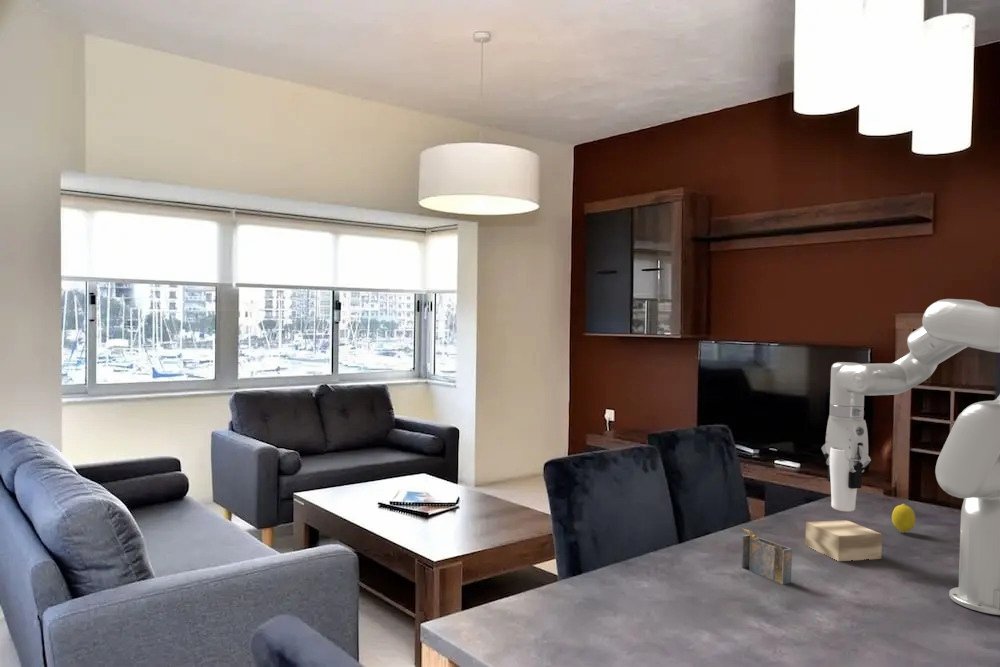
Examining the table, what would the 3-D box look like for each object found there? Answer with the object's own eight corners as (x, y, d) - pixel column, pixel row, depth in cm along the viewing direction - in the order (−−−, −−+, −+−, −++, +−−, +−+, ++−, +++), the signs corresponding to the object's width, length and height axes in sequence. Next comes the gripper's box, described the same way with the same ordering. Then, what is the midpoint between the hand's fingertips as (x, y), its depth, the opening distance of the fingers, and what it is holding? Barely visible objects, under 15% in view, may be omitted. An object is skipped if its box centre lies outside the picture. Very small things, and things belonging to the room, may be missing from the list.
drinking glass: (862, 513, 169) (864, 451, 169) (831, 511, 171) (833, 450, 170) (853, 506, 176) (855, 447, 176) (824, 504, 177) (826, 445, 177)
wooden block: (881, 558, 169) (882, 533, 169) (838, 561, 166) (839, 536, 166) (846, 543, 180) (846, 520, 180) (805, 545, 178) (805, 522, 178)
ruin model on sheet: (740, 569, 160) (741, 527, 160) (749, 567, 161) (750, 525, 161) (781, 586, 150) (782, 541, 150) (791, 584, 151) (792, 539, 151)
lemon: (886, 531, 193) (887, 502, 193) (900, 529, 195) (901, 500, 195) (905, 536, 188) (906, 507, 188) (919, 534, 190) (920, 505, 190)
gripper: (886, 417, 165) (883, 492, 166) (835, 408, 182) (833, 476, 182) (858, 417, 164) (856, 493, 164) (810, 408, 181) (807, 477, 181)
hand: (844, 484), depth 173 cm, fingers closed on drinking glass, 6 cm apart
